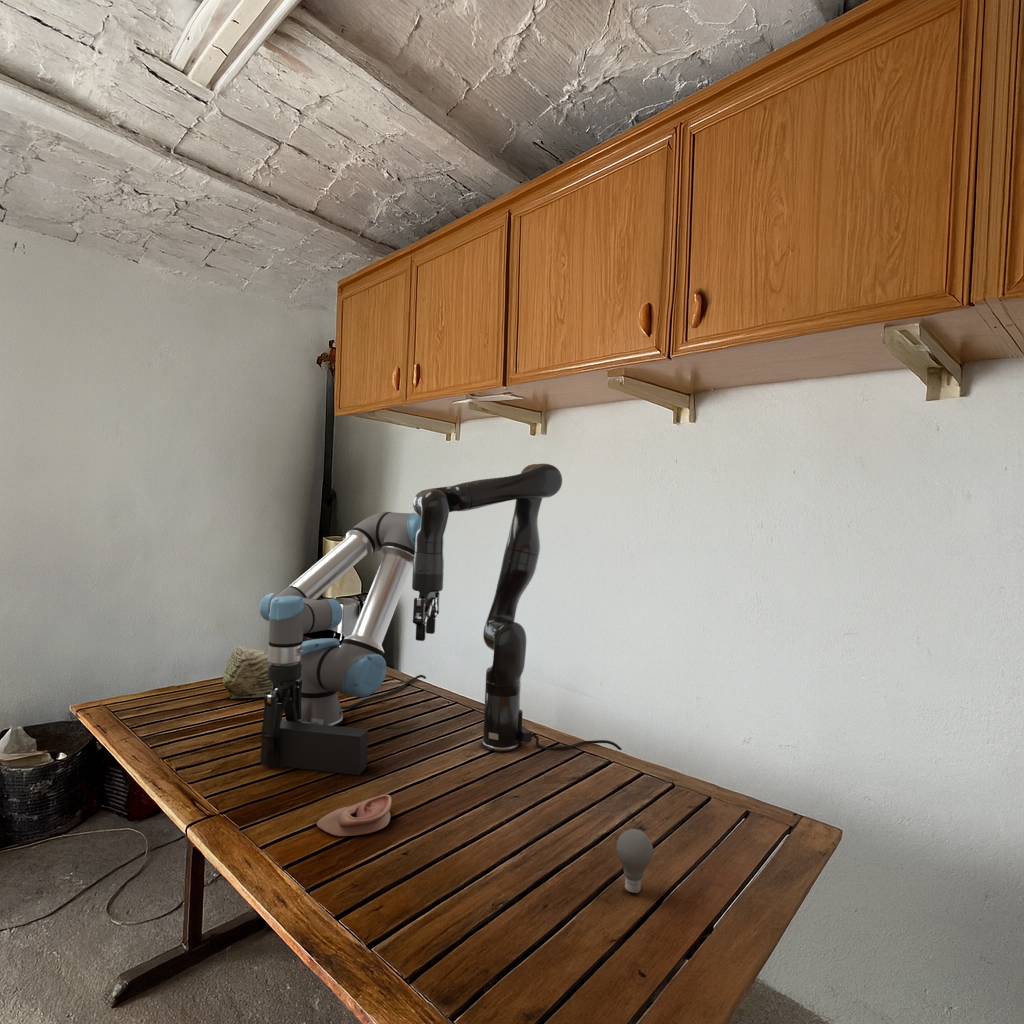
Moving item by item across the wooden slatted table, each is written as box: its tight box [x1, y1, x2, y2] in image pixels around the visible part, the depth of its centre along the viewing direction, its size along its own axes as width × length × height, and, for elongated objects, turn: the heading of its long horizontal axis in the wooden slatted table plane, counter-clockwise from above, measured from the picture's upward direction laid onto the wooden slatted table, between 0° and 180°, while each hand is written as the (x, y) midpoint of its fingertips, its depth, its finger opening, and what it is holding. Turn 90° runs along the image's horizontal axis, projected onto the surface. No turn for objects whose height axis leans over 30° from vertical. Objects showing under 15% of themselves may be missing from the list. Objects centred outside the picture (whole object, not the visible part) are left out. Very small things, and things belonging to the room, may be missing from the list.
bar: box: [260, 720, 369, 776], centre depth 149 cm, size 24×5×9 cm, turn 81°
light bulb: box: [615, 828, 654, 894], centre depth 106 cm, size 6×6×10 cm
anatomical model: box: [316, 794, 393, 837], centre depth 124 cm, size 13×4×12 cm
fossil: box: [222, 646, 273, 699], centre depth 198 cm, size 9×18×15 cm, turn 132°
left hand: (281, 758), depth 150 cm, fingers open, 7 cm apart
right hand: (425, 636), depth 155 cm, fingers open, 8 cm apart
